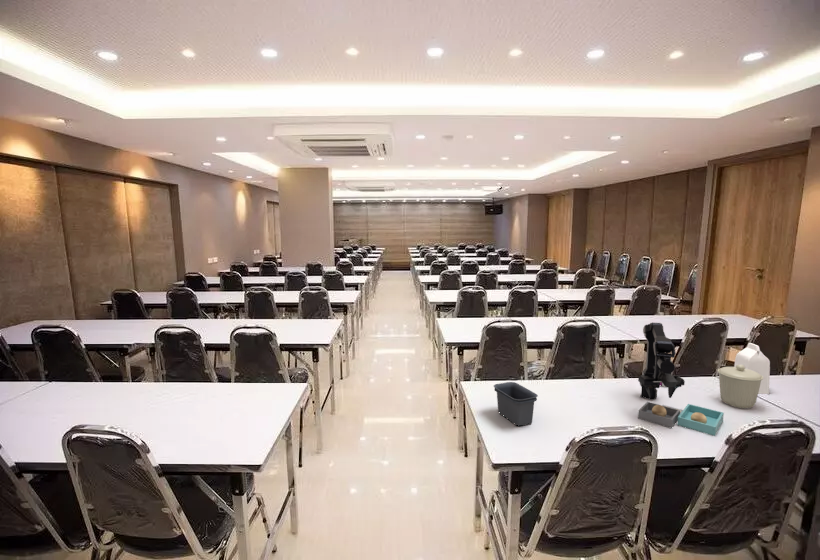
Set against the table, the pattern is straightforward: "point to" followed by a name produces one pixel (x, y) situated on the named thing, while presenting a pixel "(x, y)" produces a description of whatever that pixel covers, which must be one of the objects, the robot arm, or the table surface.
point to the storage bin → (515, 402)
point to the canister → (739, 386)
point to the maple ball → (659, 410)
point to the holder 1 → (667, 421)
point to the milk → (755, 364)
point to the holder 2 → (709, 428)
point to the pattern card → (674, 408)
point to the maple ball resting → (699, 417)
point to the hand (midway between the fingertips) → (660, 397)
